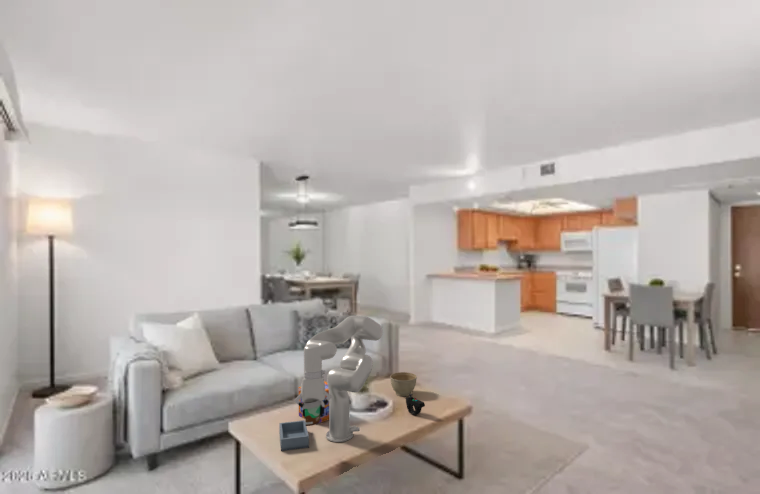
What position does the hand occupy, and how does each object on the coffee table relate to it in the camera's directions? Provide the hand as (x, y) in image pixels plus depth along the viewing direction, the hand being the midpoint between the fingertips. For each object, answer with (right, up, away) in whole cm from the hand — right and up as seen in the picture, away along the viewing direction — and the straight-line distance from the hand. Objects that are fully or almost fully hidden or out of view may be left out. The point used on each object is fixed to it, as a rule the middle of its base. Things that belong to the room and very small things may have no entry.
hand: (313, 416), depth 177 cm
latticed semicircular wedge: (+1, -3, +1) cm, 3 cm away
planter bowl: (+43, -17, +75) cm, 88 cm away
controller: (+47, -17, +43) cm, 66 cm away
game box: (-4, -17, +42) cm, 46 cm away
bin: (-11, -17, +14) cm, 25 cm away
